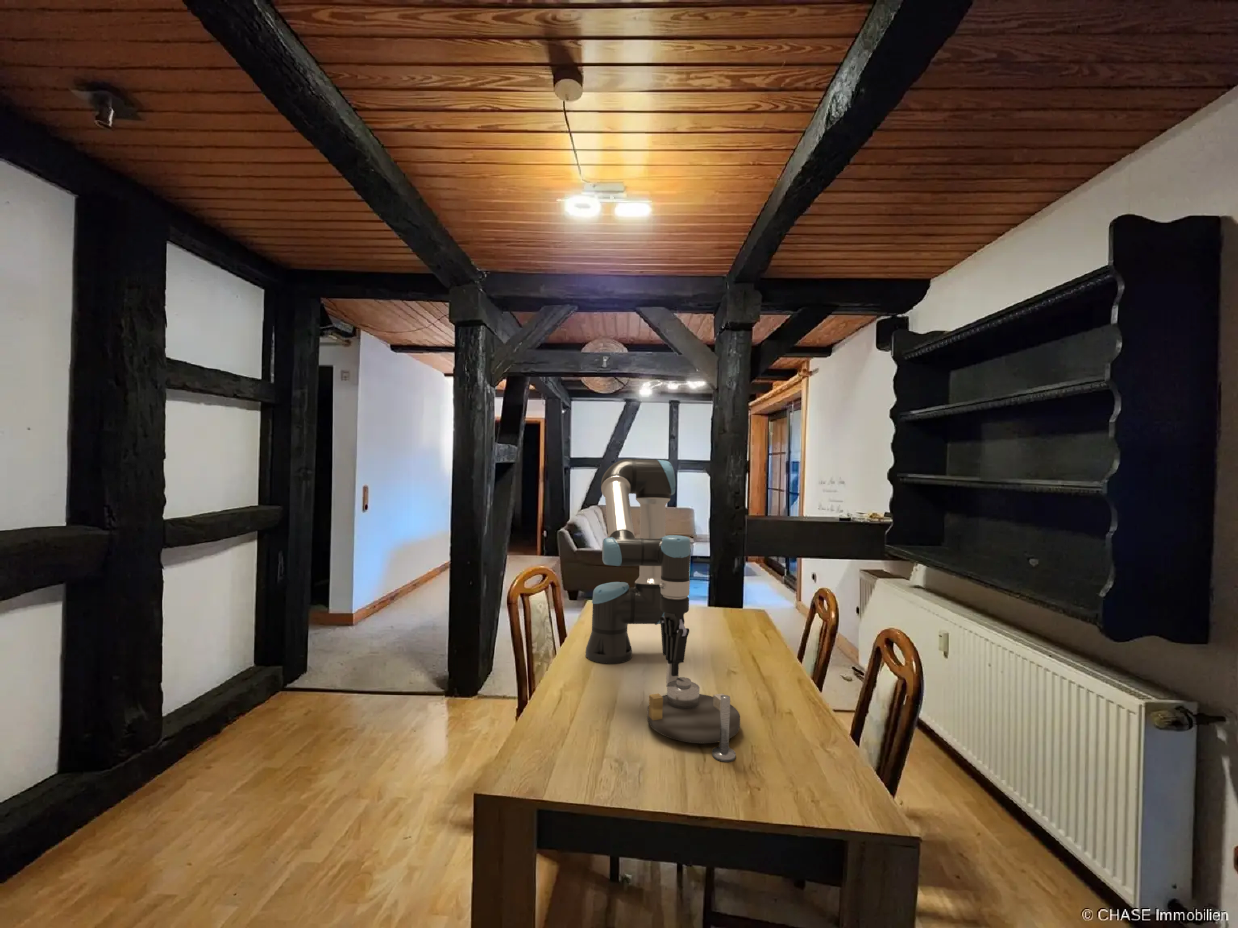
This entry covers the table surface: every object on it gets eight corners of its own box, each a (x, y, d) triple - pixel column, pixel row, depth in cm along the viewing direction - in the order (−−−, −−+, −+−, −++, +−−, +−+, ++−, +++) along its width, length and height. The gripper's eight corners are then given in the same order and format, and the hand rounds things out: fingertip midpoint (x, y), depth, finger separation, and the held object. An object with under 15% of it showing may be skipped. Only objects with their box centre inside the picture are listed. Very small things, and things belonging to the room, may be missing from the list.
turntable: (632, 706, 140) (633, 678, 140) (710, 696, 148) (710, 669, 147) (671, 749, 119) (672, 717, 119) (758, 734, 127) (759, 704, 127)
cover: (661, 697, 141) (662, 675, 141) (689, 693, 144) (690, 672, 144) (675, 711, 133) (676, 688, 133) (704, 707, 136) (705, 684, 136)
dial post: (706, 750, 122) (708, 692, 122) (726, 747, 124) (728, 689, 124) (719, 763, 117) (721, 702, 117) (739, 759, 119) (741, 699, 119)
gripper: (651, 590, 149) (648, 678, 149) (672, 602, 137) (669, 698, 137) (676, 589, 152) (674, 675, 151) (699, 600, 139) (697, 694, 139)
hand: (672, 686), depth 144 cm, fingers closed
